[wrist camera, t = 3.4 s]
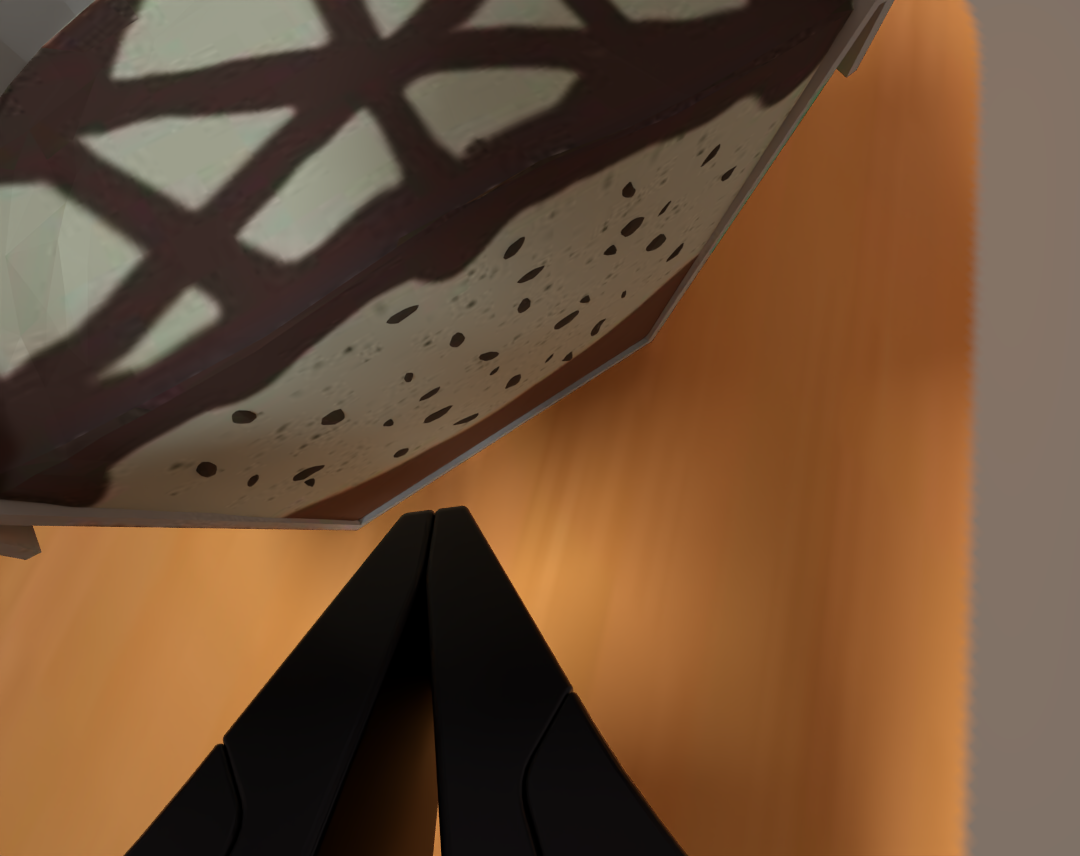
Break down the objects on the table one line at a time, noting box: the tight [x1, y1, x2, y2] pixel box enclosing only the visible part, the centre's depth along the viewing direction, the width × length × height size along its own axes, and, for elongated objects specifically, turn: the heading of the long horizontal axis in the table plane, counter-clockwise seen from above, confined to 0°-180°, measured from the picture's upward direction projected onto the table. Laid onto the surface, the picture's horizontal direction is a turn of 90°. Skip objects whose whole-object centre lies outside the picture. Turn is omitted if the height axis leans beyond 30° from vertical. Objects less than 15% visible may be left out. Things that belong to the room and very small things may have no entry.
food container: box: [0, 0, 894, 560], centre depth 11 cm, size 12×6×10 cm, turn 124°
